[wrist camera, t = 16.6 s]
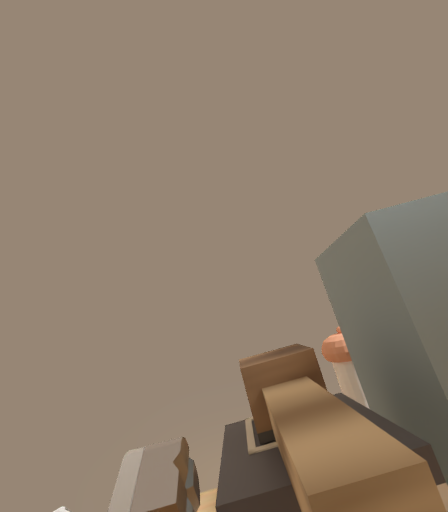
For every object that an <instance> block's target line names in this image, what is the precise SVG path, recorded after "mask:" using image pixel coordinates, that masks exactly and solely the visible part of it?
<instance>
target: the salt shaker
mask: <svg viewBox="0 0 448 512" xmlns="http://www.w3.org/2000/svg"><path fill="white" fill-rule="evenodd" d="M336 331H337V332H338V333H337V334H334V335H331V336H329V337H328V338H327V339H325V340H324V341H323V345H322V354H323V356H324V357H325V359H326V360H327V361H330V362H333V367H334V370H335V373H336V376H337V379H338V382H339V385H340V388H341V391H342V394H344V395H346V396H348V397H349V398H351V399H353V400H355V401H356V402H358V403H360V404H362V405H363V406H365V407H367V408H369V406H368V403H367V400H366V398H365V395H364V392H363V389H362V387H361V384H360V381H359V378H358V376H357V373H356V370H355V368H354V365H353V362H352V359H351V357H350V354H349V351H348V349H347V346H346V343H345V340H344V338H343V335H342V332H341V330H340V327H337V330H336ZM369 409H370V408H369Z"/></svg>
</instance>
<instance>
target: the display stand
mask: <svg viewBox="0 0 448 512" xmlns="http://www.w3.org/2000/svg"><path fill="white" fill-rule="evenodd" d="M315 262H316V264H317V267H318V270H319V273H320V275H321V278H322V281H323V283H324V286H325V289H326V291H327V294H328V297H329V299H330V302H331V305H332V308H333V311H334V313H335V316H336V319H337V321H338V324H339V327H340V330H341V332H342V335H343V338H344V340H345V343H346V346H347V349H348V351H349V354H350V357H351V359H352V362H353V365H354V368H355V370H356V373H357V376H358V378H359V381H360V384H361V387H362V389H363V392H364V395H365V398H366V400H367V403H368V406H369V408H370V410H372V411H374V412H375V413H377V414H379V415H381V416H382V417H384V418H386V419H388V420H389V421H391V422H393V423H395V424H396V425H398V426H400V427H401V428H403V429H405V430H407V431H408V432H410V433H412V434H414V435H415V436H417V437H419V438H421V439H422V440H424V441H426V442H427V443H429V444H431V447H432V449H433V452H434V454H435V456H436V459H437V461H438V464H439V466H440V469H441V471H442V473H443V476H444V478H445V481H446V483H447V486H448V192H445V193H441V194H437V195H433V196H430V197H426V198H422V199H418V200H414V201H410V202H407V203H403V204H399V205H395V206H392V207H388V208H384V209H381V210H376V211H373V212H369V213H365V214H364V215H363V216H362V217H361V218H360V219H358V221H356V222H355V223H354V224H353V225H352V226H351V227H350V228H349V229H348V230H347V231H346V232H344V233H343V234H342V235H341V236H340V237H339V238H338V239H337V240H336V241H335V242H334V243H333V244H331V246H329V247H328V248H327V249H326V250H325V251H324V252H323V253H322V254H321V255H320V256H319V257H317V258H316V259H315Z"/></svg>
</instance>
